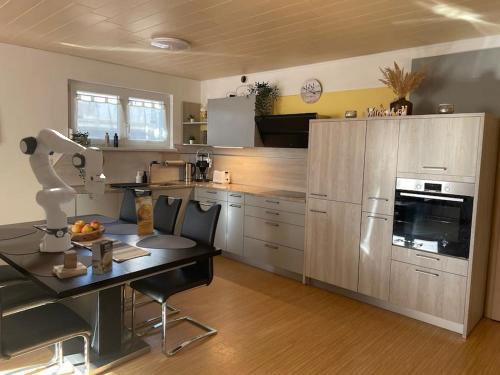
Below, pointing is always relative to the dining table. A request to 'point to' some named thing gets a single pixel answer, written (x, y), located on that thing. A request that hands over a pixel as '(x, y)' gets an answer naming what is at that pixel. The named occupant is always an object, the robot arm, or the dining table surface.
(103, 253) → the coffee box
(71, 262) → the walnut block
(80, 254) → the dining table surface
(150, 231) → the pancake mix bag
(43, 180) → the robot arm
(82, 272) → the base slab
